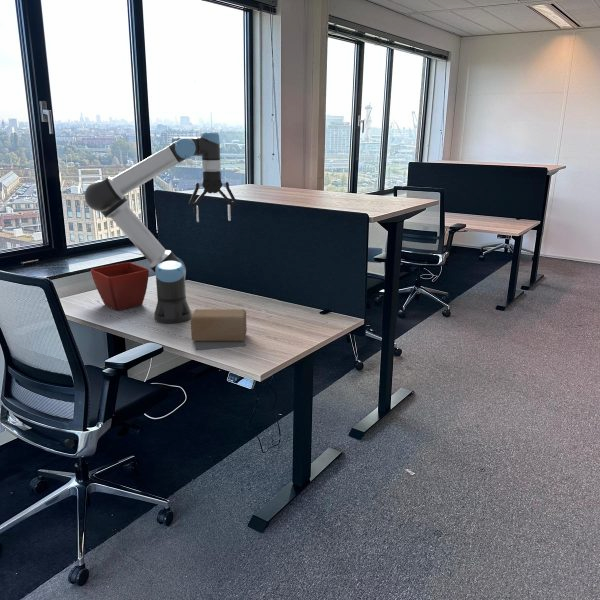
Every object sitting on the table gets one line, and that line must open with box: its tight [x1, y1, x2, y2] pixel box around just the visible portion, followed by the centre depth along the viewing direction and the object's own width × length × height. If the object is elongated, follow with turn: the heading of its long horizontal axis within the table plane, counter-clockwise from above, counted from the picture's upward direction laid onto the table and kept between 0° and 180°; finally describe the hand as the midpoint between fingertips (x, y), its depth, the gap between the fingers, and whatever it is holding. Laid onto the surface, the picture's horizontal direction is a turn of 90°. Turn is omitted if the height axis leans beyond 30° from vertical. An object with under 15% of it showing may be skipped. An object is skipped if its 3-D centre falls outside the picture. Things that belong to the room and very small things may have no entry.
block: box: [189, 308, 248, 342], centre depth 203 cm, size 10×10×20 cm
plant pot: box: [90, 261, 150, 311], centre depth 240 cm, size 19×19×17 cm
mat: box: [194, 340, 246, 351], centre depth 201 cm, size 18×12×1 cm, turn 105°
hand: (213, 220), depth 230 cm, fingers open, 13 cm apart
